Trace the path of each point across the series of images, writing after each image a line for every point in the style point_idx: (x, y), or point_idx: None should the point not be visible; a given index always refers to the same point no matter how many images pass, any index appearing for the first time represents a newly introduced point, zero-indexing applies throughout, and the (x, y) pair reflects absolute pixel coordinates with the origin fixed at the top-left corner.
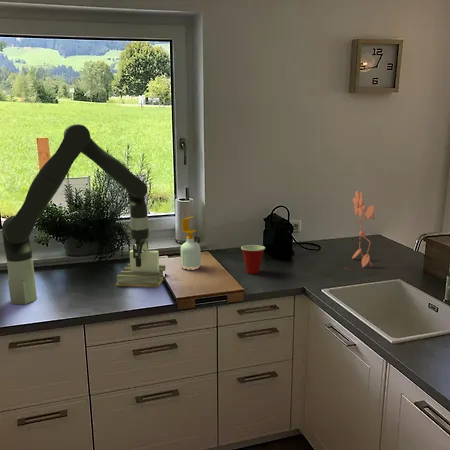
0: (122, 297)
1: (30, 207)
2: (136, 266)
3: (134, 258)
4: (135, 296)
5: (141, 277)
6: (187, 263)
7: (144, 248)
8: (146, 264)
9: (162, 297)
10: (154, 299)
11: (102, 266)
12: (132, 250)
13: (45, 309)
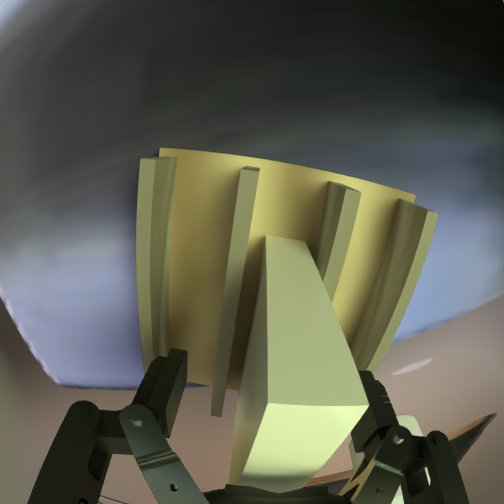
0: (39, 225)
1: None
2: (172, 349)
3: (257, 371)
4: (56, 280)
5: (143, 335)
6: (360, 457)
7: (342, 492)
8: (242, 403)
9: (79, 368)
10: (58, 345)
11: (492, 57)
12: (343, 421)
13: (4, 7)
